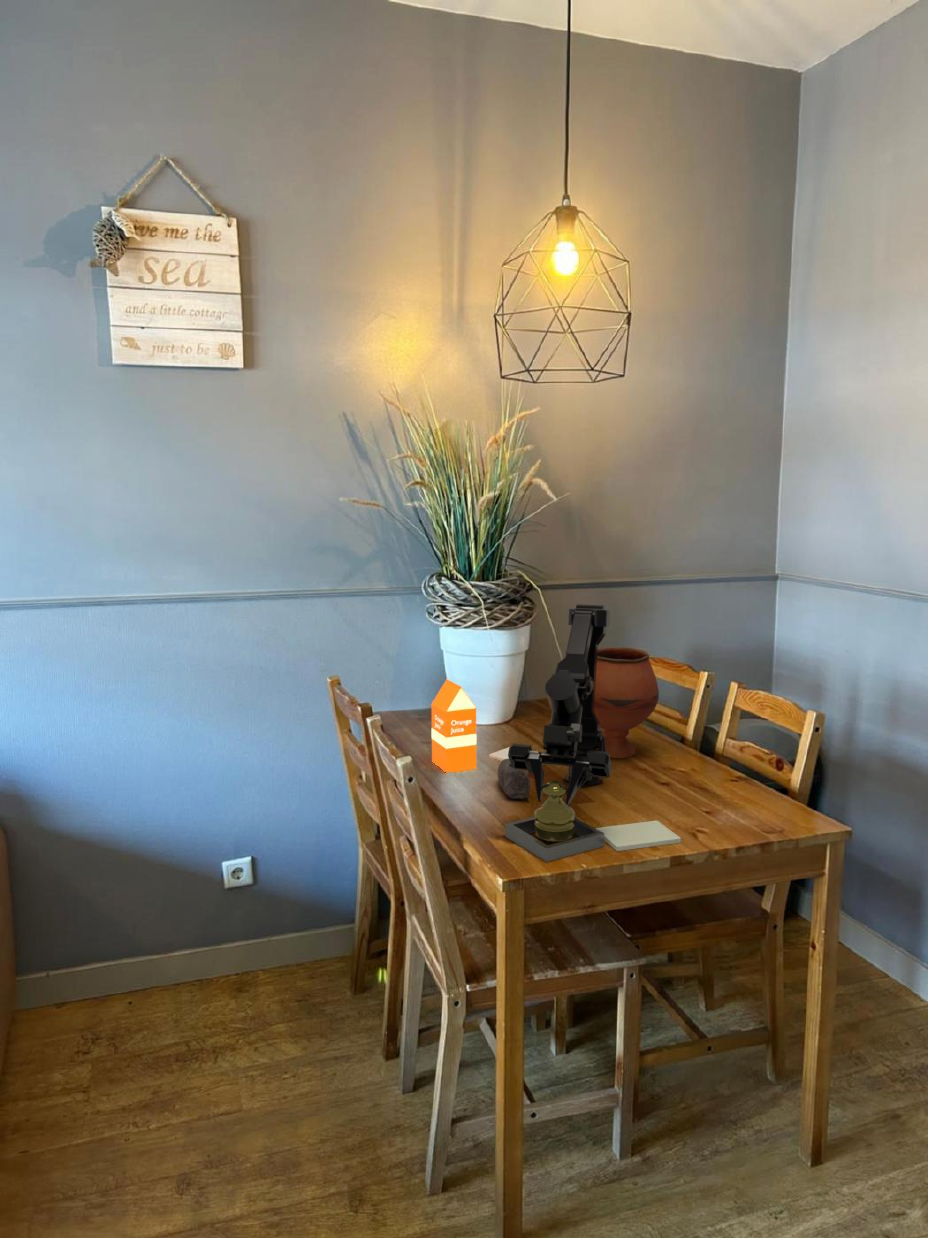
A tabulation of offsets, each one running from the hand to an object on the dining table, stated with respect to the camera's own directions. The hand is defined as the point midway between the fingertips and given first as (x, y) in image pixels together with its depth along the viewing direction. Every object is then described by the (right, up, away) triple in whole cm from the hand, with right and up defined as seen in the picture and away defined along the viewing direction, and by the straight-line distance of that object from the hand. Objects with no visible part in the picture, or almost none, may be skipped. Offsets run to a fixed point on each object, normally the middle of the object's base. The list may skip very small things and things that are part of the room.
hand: (553, 802), depth 160 cm
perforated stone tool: (-6, -4, +29) cm, 30 cm away
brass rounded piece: (0, -6, +2) cm, 7 cm away
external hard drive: (-3, -1, +50) cm, 50 cm away
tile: (+16, -7, +4) cm, 18 cm away
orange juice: (-19, -1, +45) cm, 49 cm away
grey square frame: (0, -8, +2) cm, 8 cm away
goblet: (+21, +1, +55) cm, 59 cm away
